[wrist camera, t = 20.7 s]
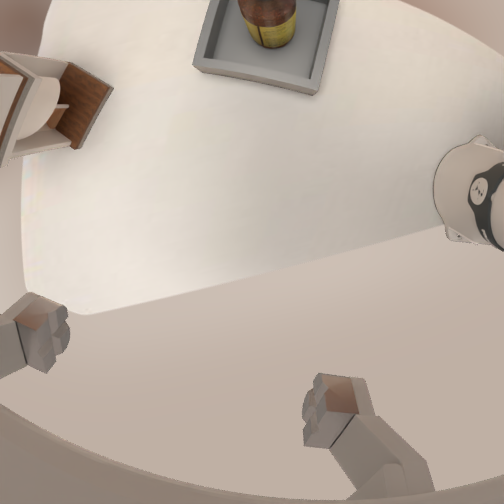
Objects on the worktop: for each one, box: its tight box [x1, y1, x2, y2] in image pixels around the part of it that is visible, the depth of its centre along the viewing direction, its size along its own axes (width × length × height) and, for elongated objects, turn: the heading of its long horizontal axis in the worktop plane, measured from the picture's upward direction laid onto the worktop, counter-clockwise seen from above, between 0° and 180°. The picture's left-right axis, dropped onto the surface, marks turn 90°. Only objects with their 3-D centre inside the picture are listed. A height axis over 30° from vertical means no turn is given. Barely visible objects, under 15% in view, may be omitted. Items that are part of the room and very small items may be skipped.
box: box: [192, 0, 339, 96], centre depth 34 cm, size 16×16×6 cm
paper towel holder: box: [0, 51, 114, 168], centre depth 26 cm, size 11×11×35 cm
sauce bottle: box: [237, 0, 296, 49], centre depth 27 cm, size 6×6×20 cm
